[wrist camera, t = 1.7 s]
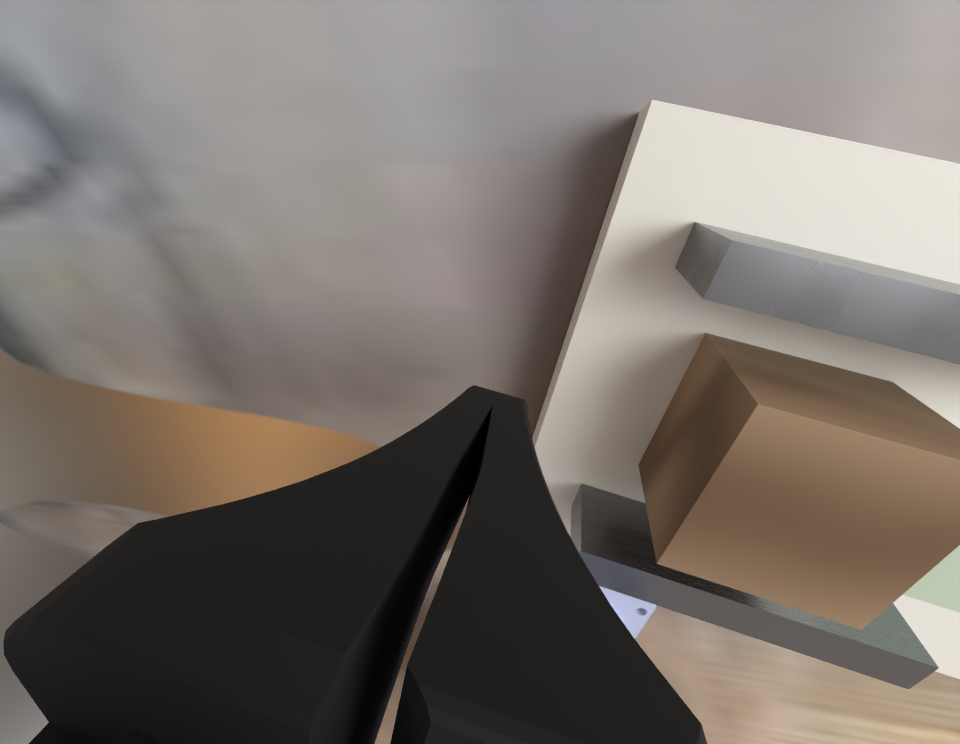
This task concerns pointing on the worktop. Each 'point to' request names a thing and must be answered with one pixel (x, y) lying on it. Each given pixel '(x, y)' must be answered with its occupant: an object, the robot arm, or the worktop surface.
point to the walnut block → (800, 482)
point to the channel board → (687, 316)
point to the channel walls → (813, 302)
